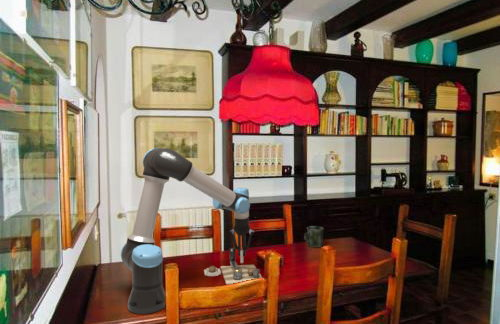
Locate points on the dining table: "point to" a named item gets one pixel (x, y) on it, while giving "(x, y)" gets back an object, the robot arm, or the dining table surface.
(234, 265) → the lever
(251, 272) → the walnut
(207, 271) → the dish
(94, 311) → the dining table surface
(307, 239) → the mug
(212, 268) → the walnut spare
